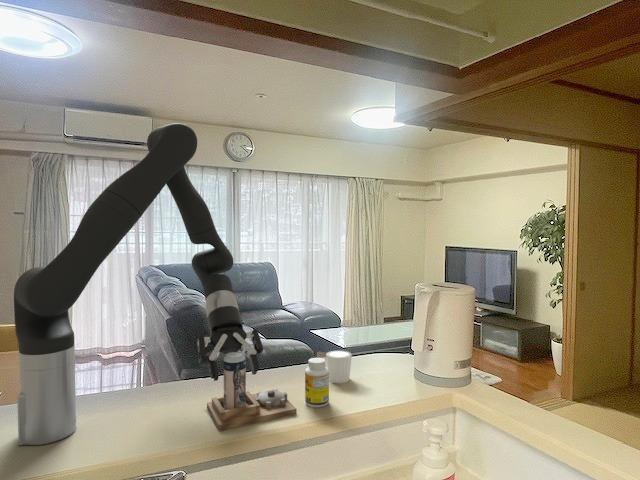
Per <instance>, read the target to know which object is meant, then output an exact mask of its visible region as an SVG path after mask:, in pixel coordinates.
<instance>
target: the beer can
mask: <svg viewBox="0 0 640 480" xmlns="http://www.w3.org/2000/svg"><path fill="white" fill-rule="evenodd" d="M246 359H247V358H246V355H244V354H243V353H242V352H239V351H237V352H230V353H227V354H224V357H223V396H224V409H225V410H228V409H233V408H238V407H243V406H246V392H247V387H246V386H247V385H246V384H247V383H246V382H247V375H246V373H247V372H246V371H247V369H246V367H247V366H246V365H247V362H246V361H247V360H246Z"/></svg>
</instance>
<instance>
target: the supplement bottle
mask: <svg viewBox="0 0 640 480" xmlns="http://www.w3.org/2000/svg"><path fill="white" fill-rule="evenodd" d="M329 397H330V381H329V369H328V368H327V363H326V359H324V358H322V357H311V358H309V359H308V364H307V367H306V368H305V370H304V399H305V400H304V401H305V404H306V405H307V406H309V407H311V408H323V407H325V406H327V405H328V404H329V401H330V398H329Z"/></svg>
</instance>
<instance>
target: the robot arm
mask: <svg viewBox="0 0 640 480" xmlns="http://www.w3.org/2000/svg"><path fill="white" fill-rule="evenodd" d="M146 146H147V151H148V153H147V154H146V155H145V156H144V158H142V160H141V161H139V162H138V163H137V164H135V165H134V166H132V167H131V168H130V169H128V170H127V171H125V172H124V173H123V174H121V175H120V176H119V177H117V178H116V179H115V180H113V182H110V184H109V185H108V186H107V187H106V188H105V189H103V191H101V193H100V194H99V195H98V196H97V197H96V199H95V200H94V201H93V202H92V203H91V204H90V205H89V207H88V208H87V209H86V211H85V213H84V214H83V217H82V218H81V221H80V222H79V225H78V226H77V229H76V230H75V232H74V235H73V236H72V238H71V240H70V241H69V242H68V244H67V245H66V246H65V247H64V248H63V249H62V250H61V251H60V253H58V254H57V255H56V257H55V258H54V259H52V260H51V261H50V262H49V263H48V264H47V265H46V266H37V267H32V268H30V269H28V270H26V271H25V272H23V273H22V274H21V275H20V276H19V277H18V278H17V280H16V282H15V284H14V289H13V310H14V326H15V327H14V330H15V336H16V340H17V342H18V343H17V345H18V365H19V367H18V369H19V371H18V372H19V392H18V394H17V404H16V405H17V433H18V435H17V438H18V446H24V445H30V446H38V445H47V444H51V443H54V442H58V441H60V440H63V439H65V438H68V436H70V435H72V434H73V433H74V432H75V431H76V429H77V408H76V407H77V402H76V401H77V398H76V394H77V393H76V358H75V357H76V356H75V355H76V349H75V333H74V332H75V331H74V330H73V328H72V325H71V323H70V318H69V309H70V308H72V306H74V305H75V303H76V302H77V300H78V299H79V297H80V296H81V295H82V293H83V291H85V288H86V287H87V285H88V284H89V282H90V280H91V279H92V277H93V276H94V274H96V271H97V270H98V269H99V267H100V266H101V265H102V263H103V262H104V261H105V260H106V259H107V257H109V255H110V254H111V253H112V252H113V251H114V249H116V247H117V246H118V245H119V243H120V242H121V241H122V240H123V239H124V237H125V236H127V234H128V233H129V232H130V231H131V230H132V229H133V227H134V226H135V225H136V223H137V222H139V221H140V219H141V218H142V216H143V215H144V213H145V212H146V211H147V209H148V208H149V207H150V205H152V203H153V202H154V200H155V199H156V198H157V197H158V196H159V194H160V193H161V191H162V190H163V189H164V187H165V186H167V188H168V190H169V192H170V194H171V196H172V198H173V201H174V202H175V204H176V206H177V208H178V212H179V214H180V216H181V218H182V221H183V224H184V228H185V231H186V233H187V236H188V238H189V241H190V242H191V243H192V244H193V245H203V244H204V245H209V246H211V247H212V248H209V249H206V250H202V251H199V252H197V253H195V254H194V255H193V257H192V259H191V267H192V269H193V271H194V273H195V274H196V276H197V278H198V280H199V281H200V284H201V287H202V288H203V293H204V300H205V310H206V317H207V323H208V328H209V333H210V336H204V335H203V334H200V335H199V336H198V337H197V342H196V344H197V356H198V364H199V365H206V366H208V371H209V377H210V379H213V381H214V382H216V381H218V380H219V375H220V374H219V371H218V365H217V359H218V357H219V355H221V354H223V355H226V354H227V353H230V352H242V353H243V354H244V356H245V357H247V358H248V359H249V360H248V361H249V366H250V370H251V371H250V372H251V374H252V375H257V372H258V371H259V369H260V364H259V360H258V357H261V356H262V353H263V351H264V346H263V342H262V340H261V337H260V333H259V331H258V329H256V328H254V329H252V331H245V330H244V327H243V322H242V318H241V313H240V310H239V304H238V301H237V298H236V297H235V291H234V287H233V284H232V280H231V279H230V277H229V276H228V275H226V274H224V273H227V272H228V271H231V270H232V268H233V267H234V258H233V257H234V256H233V254H232V252H231V251H230V249H229V248H228V246H226V244H225V243H224V242H223V240H222V238H221V237H220V235H219V233H218V231H217V229H216V226H215V223H214V220H213V217H212V215H211V214H212V213H211V211H210V209H209V207H208V205H207V203H206V201H205V200H204V199H203V197H202V196H201V194H200V193H199V191H198V190H197V188H195V186H194V185H193V183H192V181H191V179H190V178H189V176H188V173H187V170H186V167H185V165H187V163H188V162H189V161H191V160H192V158H193V157H194V156H195V154H196V153H197V148H198V138H197V134H196V132H195V130H194V129H193V128H192V127H190V126H189V125H188V124H185V123H179V122H178V123H177V122H175V123H168V124H166V125H162V126H159V127H157V128H155V129H153V130H152V131H151V132H150V133H149V134H148V136H147V139H146ZM246 339H248V340H249V341H250V342H252V346H253V347H252V346H251V344H250V343H249V342H248V341H247V340H246ZM209 343H210V345H212V346H213V347H214V348H213V350H212V352H211V354H210V355H207V354H206V353H207V351H206V348H207V347H208V344H209ZM220 353H221V354H220Z"/></svg>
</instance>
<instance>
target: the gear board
mask: <svg viewBox="0 0 640 480" xmlns="http://www.w3.org/2000/svg"><path fill="white" fill-rule="evenodd" d="M206 409H207V411H208V412H209V415H210V416H211V418H212V420H213V422H214V424H215V426H216V427H217V430H218V431H219V432H222V431H225V430H229V429H231V430H232V429H234V428H239V427H243V426H248V425H253V424H257V423H262V422H266V421H272V420H276V419H281V418H285V417H289V416H294V415H297V413H298V412H297V408H296V407H295V406H294V404H292V403H291V402H290V400H288V393H287V392H283V391H280V390H278V389H270V390H265V391H259V392H257V393H251V392H250V391H248V390H246V406H243V407H238V408H233V409H228V410H225V409H224V395H220V396H216V397H212V398H211V401H209V402H206Z"/></svg>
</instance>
